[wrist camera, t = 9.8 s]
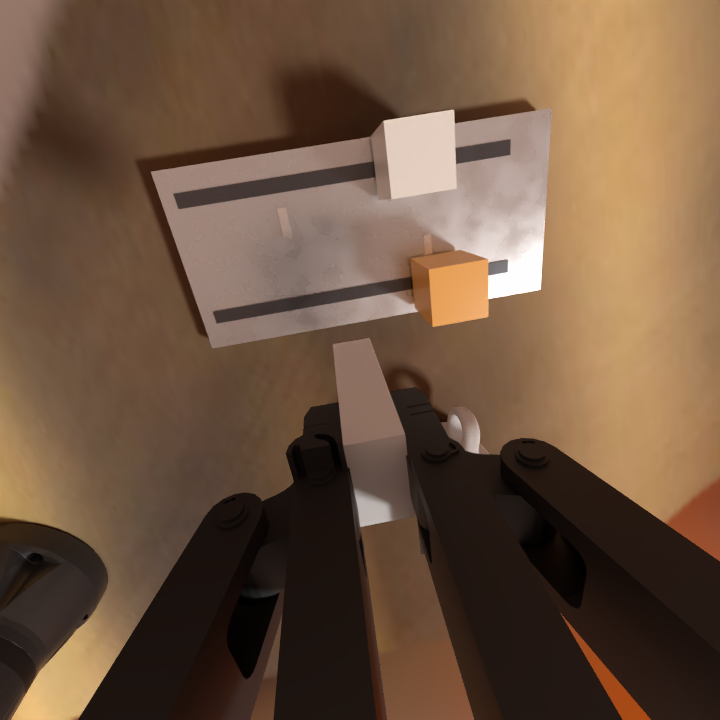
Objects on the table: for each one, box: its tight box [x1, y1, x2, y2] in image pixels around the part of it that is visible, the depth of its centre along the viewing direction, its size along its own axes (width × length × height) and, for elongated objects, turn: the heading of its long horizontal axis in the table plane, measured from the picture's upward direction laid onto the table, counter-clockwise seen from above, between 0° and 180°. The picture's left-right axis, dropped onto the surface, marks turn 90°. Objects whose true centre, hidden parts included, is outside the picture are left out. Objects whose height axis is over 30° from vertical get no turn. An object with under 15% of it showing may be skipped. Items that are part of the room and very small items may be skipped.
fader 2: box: [410, 250, 488, 327], centre depth 26 cm, size 4×4×5 cm
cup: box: [441, 406, 489, 454], centre depth 34 cm, size 11×8×8 cm
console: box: [151, 108, 552, 348], centre depth 28 cm, size 28×13×2 cm, turn 99°
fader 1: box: [371, 110, 457, 200], centre depth 23 cm, size 4×4×5 cm
